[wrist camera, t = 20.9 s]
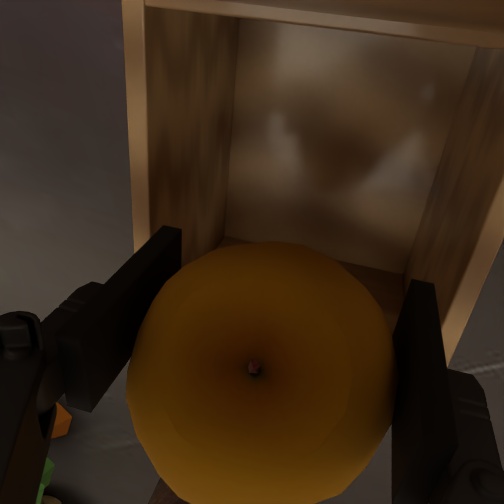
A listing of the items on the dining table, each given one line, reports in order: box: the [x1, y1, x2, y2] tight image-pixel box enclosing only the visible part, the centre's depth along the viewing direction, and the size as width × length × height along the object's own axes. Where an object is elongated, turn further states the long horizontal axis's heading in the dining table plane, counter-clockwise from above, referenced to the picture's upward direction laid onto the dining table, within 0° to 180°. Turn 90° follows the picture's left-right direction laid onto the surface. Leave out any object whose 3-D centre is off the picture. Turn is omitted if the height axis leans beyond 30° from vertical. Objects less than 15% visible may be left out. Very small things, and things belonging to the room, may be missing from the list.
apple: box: [126, 241, 399, 504], centre depth 15 cm, size 8×8×9 cm
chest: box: [122, 0, 504, 366], centre depth 22 cm, size 16×14×12 cm
